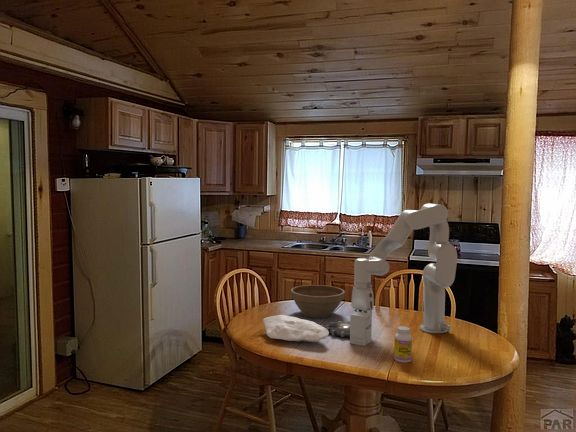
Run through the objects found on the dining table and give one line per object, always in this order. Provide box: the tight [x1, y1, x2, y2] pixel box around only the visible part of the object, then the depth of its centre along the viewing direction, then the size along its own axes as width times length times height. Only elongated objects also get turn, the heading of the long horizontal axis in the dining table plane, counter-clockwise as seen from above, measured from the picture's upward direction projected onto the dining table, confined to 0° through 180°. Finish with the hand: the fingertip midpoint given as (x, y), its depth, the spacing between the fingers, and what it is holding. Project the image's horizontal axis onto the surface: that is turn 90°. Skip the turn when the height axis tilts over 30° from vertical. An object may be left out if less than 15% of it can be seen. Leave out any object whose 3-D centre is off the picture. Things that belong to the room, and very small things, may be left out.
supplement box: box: [349, 311, 373, 347], centre depth 205 cm, size 7×7×13 cm
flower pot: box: [290, 284, 346, 319], centre depth 248 cm, size 28×28×13 cm
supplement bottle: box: [393, 325, 413, 364], centre depth 185 cm, size 7×7×13 cm
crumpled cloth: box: [262, 314, 330, 343], centre depth 211 cm, size 24×35×9 cm
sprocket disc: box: [326, 320, 350, 338], centre depth 218 cm, size 18×18×6 cm
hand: (361, 324), depth 218 cm, fingers closed
